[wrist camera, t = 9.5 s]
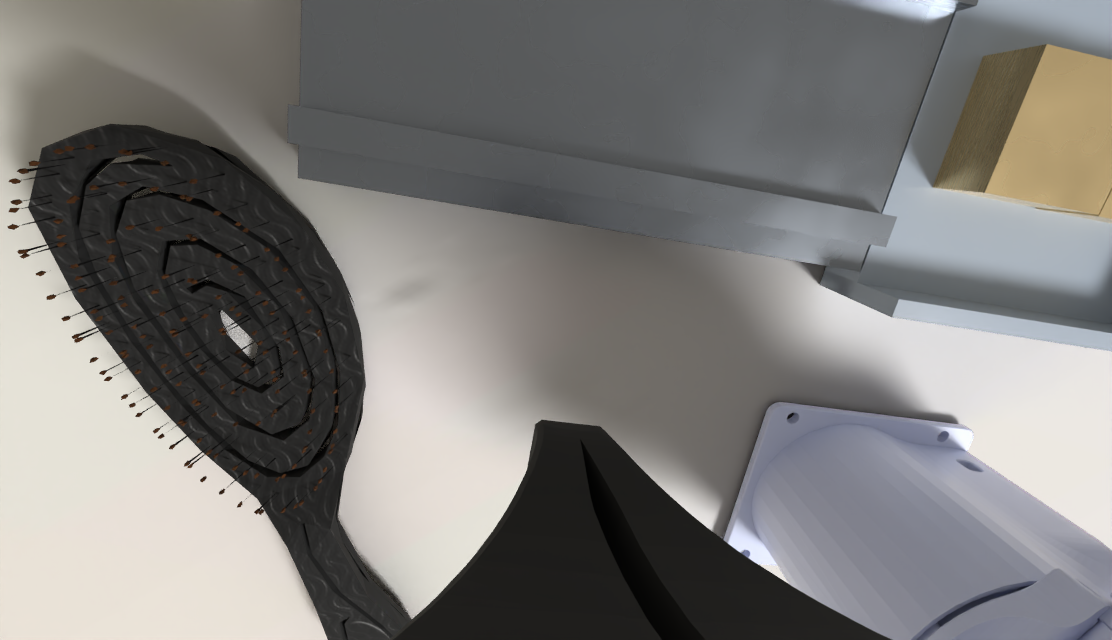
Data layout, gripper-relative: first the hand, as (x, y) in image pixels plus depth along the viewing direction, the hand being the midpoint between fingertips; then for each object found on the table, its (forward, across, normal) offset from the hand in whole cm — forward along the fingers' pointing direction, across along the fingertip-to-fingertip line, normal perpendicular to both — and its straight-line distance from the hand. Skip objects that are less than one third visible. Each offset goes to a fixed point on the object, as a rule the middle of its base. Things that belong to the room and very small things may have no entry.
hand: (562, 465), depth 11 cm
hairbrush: (+10, +8, +7) cm, 15 cm away
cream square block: (+7, -14, -9) cm, 18 cm away
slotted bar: (+9, -1, -9) cm, 13 cm away
